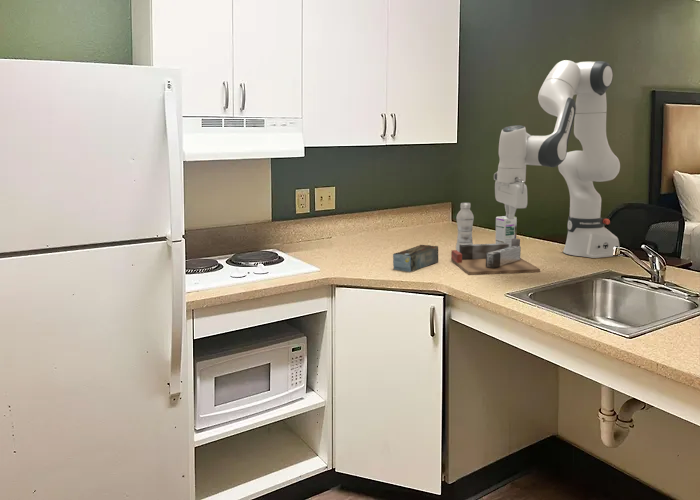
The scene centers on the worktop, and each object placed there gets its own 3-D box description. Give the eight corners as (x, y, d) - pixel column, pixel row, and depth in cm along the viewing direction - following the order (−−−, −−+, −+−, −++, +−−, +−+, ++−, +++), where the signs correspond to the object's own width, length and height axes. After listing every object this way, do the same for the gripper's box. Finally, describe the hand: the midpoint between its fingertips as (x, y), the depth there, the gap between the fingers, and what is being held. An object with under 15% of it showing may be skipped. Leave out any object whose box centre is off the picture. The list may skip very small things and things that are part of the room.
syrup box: (504, 255, 240) (505, 218, 237) (494, 252, 245) (495, 216, 242) (516, 254, 242) (517, 216, 239) (506, 251, 247) (507, 214, 244)
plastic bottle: (473, 256, 239) (474, 204, 235) (455, 255, 240) (456, 204, 236) (473, 252, 245) (474, 202, 241) (455, 252, 246) (456, 201, 242)
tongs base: (516, 258, 235) (517, 237, 233) (539, 271, 213) (541, 248, 212) (451, 260, 232) (451, 239, 230) (468, 274, 211) (469, 251, 209)
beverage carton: (391, 269, 221) (391, 251, 219) (421, 260, 235) (421, 242, 234) (410, 272, 216) (410, 254, 214) (439, 262, 230) (439, 245, 229)
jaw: (513, 258, 228) (513, 245, 227) (521, 260, 226) (521, 246, 225) (485, 267, 216) (486, 253, 215) (493, 268, 214) (494, 254, 213)
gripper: (533, 179, 194) (531, 223, 196) (510, 173, 213) (508, 213, 216) (513, 179, 193) (512, 223, 196) (492, 174, 213) (490, 214, 216)
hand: (510, 218), depth 206 cm, fingers closed
